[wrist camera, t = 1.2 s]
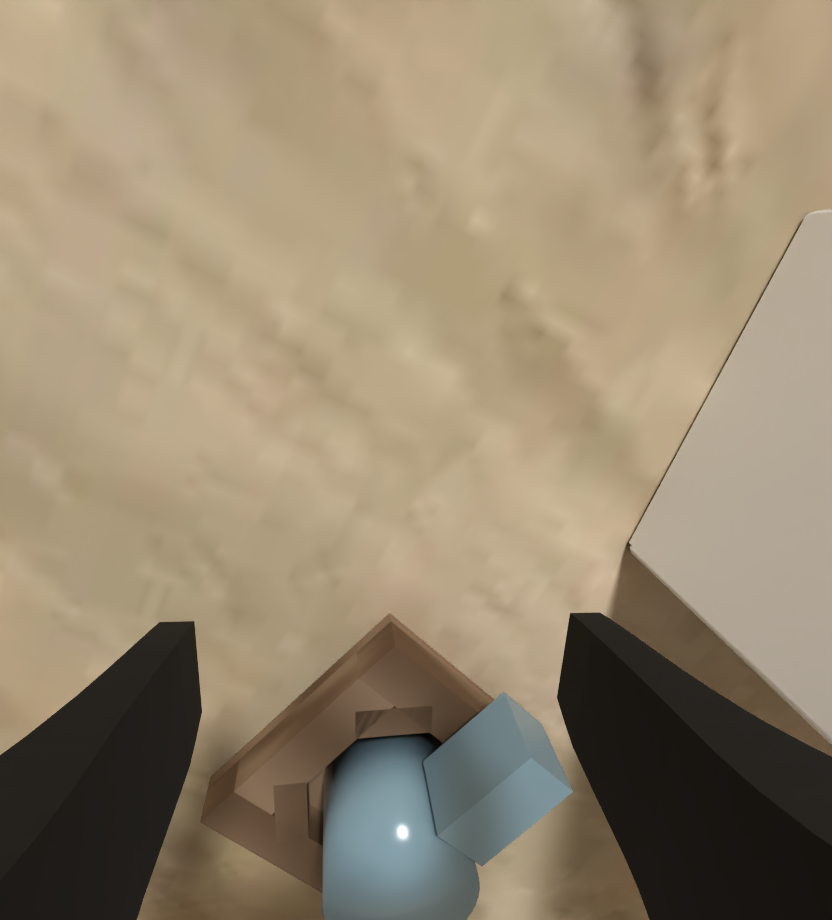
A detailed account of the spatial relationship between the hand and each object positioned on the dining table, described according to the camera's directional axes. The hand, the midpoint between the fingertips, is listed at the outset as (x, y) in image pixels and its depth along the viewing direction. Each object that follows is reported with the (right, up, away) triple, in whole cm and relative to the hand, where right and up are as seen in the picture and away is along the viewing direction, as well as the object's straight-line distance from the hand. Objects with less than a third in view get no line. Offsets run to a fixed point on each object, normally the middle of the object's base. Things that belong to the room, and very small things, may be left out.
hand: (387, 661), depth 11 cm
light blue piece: (+1, -8, +13) cm, 15 cm away
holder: (-1, -9, +13) cm, 16 cm away
